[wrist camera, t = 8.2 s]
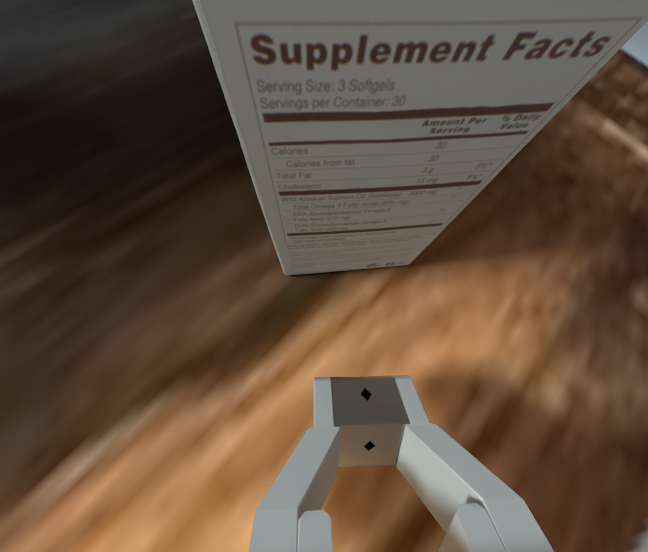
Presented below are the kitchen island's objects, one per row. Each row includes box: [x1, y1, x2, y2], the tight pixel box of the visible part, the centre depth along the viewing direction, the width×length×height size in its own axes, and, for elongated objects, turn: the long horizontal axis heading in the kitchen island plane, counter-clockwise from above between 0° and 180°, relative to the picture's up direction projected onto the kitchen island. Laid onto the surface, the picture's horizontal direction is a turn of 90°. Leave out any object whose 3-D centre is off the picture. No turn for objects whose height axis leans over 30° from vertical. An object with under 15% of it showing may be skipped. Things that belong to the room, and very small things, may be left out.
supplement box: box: [193, 0, 648, 276], centre depth 10 cm, size 7×7×13 cm
